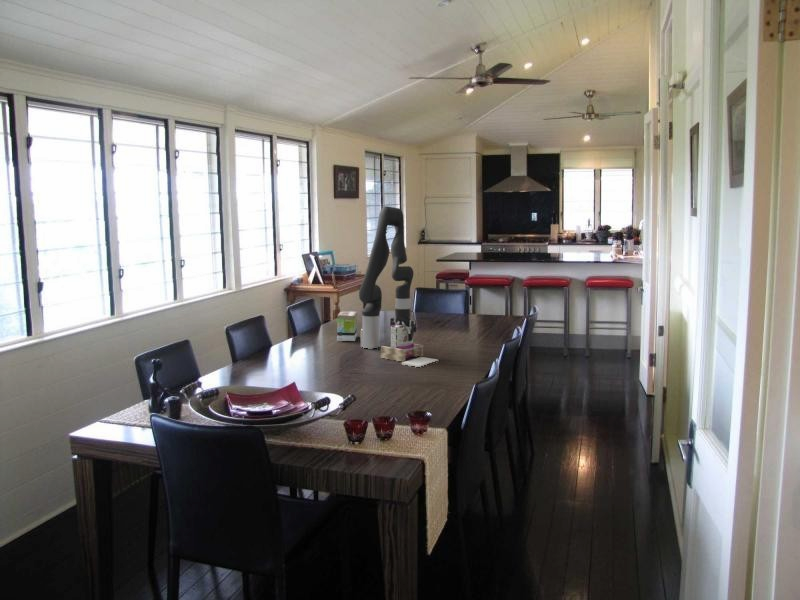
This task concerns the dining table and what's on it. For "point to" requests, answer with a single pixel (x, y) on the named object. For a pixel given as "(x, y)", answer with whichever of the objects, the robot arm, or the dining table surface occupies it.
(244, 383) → the dining table surface
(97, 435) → the dining table surface
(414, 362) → the white panel
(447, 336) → the dining table surface
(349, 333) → the tea box
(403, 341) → the candy bar box
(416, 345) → the dispenser rack
